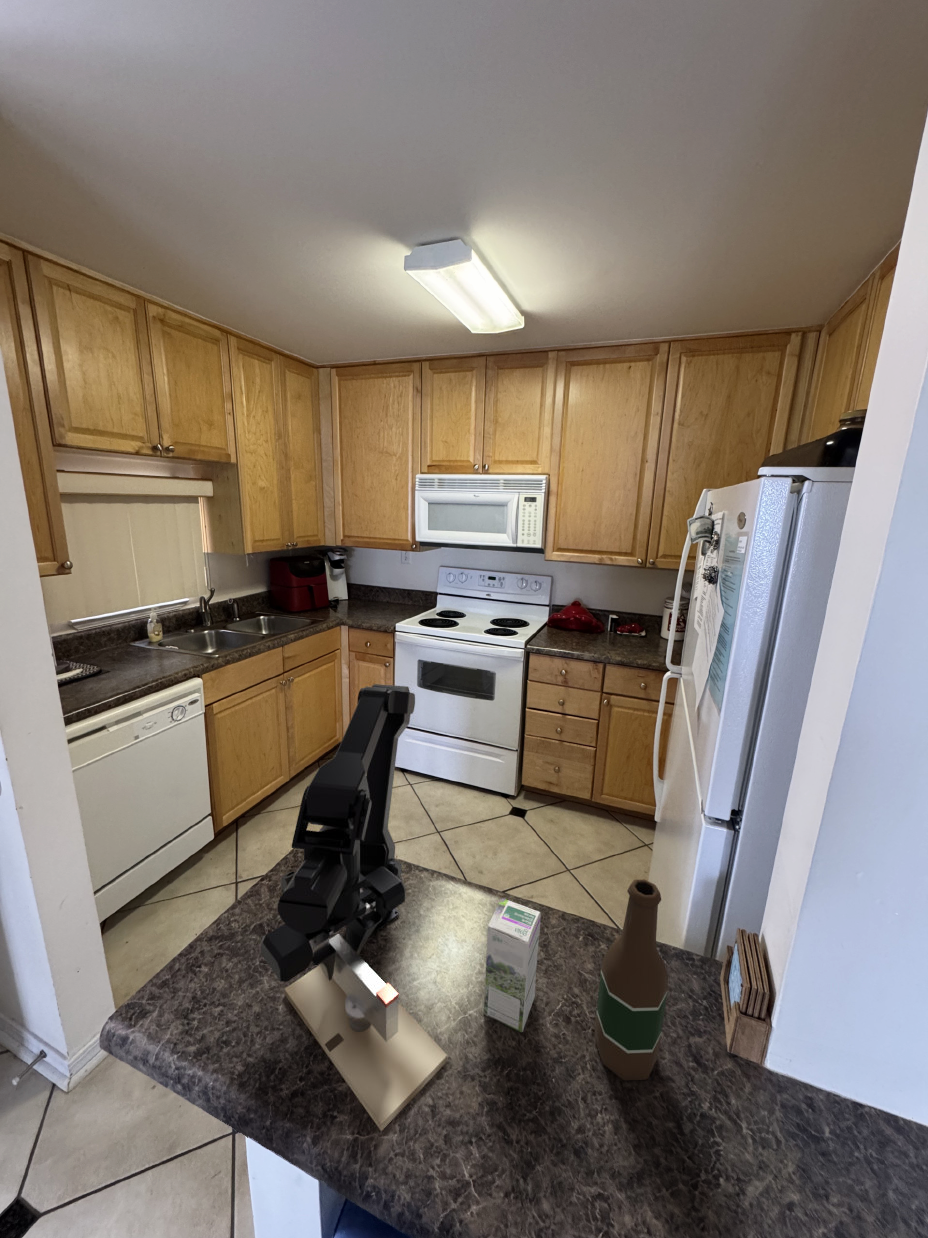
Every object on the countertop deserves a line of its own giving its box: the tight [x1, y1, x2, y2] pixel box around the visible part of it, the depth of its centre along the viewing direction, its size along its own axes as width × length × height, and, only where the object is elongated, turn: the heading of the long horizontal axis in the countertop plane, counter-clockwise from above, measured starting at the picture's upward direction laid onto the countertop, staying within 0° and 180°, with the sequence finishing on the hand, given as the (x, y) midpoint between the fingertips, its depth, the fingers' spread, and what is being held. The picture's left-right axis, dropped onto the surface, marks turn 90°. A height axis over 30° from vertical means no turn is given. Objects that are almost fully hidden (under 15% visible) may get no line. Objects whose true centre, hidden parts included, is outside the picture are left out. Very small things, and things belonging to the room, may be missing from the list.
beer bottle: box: [593, 879, 669, 1081], centre depth 61 cm, size 8×8×24 cm
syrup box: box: [483, 897, 542, 1033], centre depth 67 cm, size 6×6×14 cm
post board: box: [284, 965, 448, 1132], centre depth 65 cm, size 10×22×3 cm, turn 46°
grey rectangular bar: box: [329, 933, 399, 1042], centre depth 64 cm, size 4×13×7 cm, turn 46°
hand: (339, 970), depth 67 cm, fingers open, 3 cm apart
